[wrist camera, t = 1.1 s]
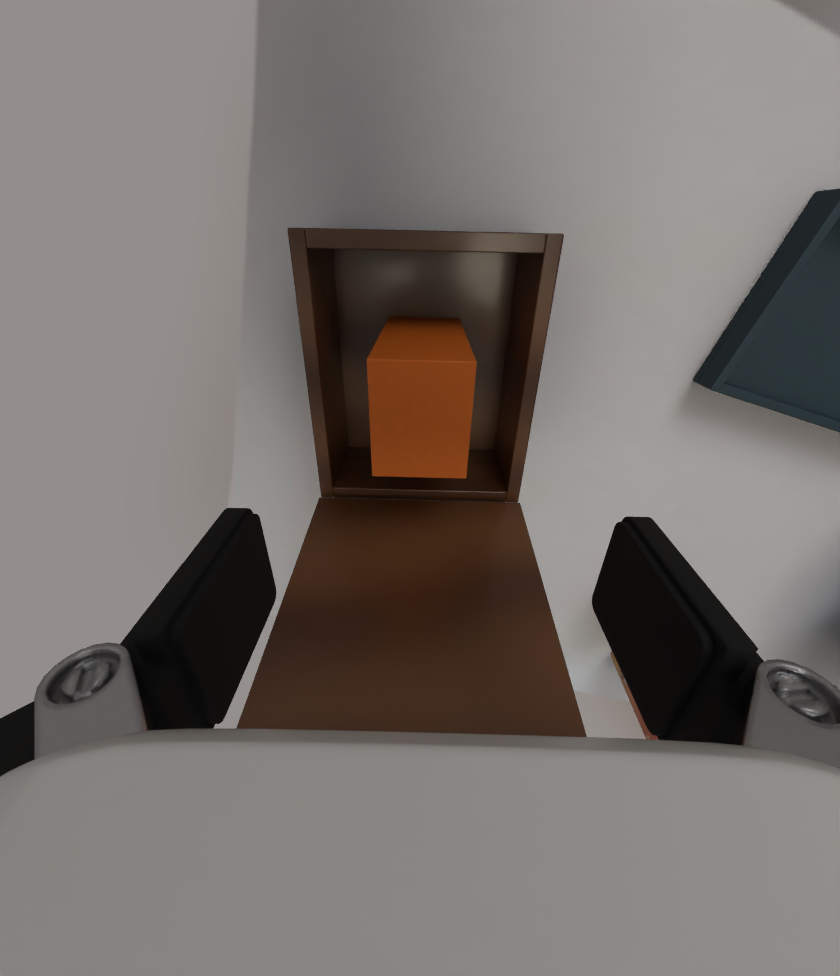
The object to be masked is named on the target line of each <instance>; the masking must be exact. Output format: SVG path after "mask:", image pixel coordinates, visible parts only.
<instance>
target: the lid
mask: <svg viewBox="0 0 840 976" xmlns="http://www.w3.org/2000/svg"><path fill="white" fill-rule="evenodd" d="M236 729H296V730H342V731H387V732H426V733H463V734H499V735H533V736H564V737H587V736H586V733H585V729H584V726H583V722H582V719H581V715H580V712H579V708H578V705H577V701H576V698H575V694H574V691H573V687H572V684H571V680H570V677H569V673H568V670H567V666H566V663H565V659H564V656H563V652H562V649H561V645H560V642H559V638H558V635H557V631H556V628H555V624H554V621H553V617H552V614H551V610H550V607H549V603H548V600H547V596H546V593H545V589H544V586H543V582H542V579H541V575H540V572H539V568H538V565H537V561H536V558H535V554H534V551H533V547H532V544H531V540H530V537H529V533H528V530H527V526H526V523H525V519H524V516H523V512H522V509H521V505H520V503H505V502H467V501H429V500H391V499H353V498H319V500H318V503H317V506H316V509H315V511H314V514H313V517H312V520H311V523H310V525H309V528H308V531H307V534H306V536H305V539H304V542H303V545H302V548H301V550H300V553H299V556H298V559H297V561H296V564H295V567H294V570H293V573H292V575H291V578H290V581H289V584H288V586H287V589H286V592H285V595H284V598H283V600H282V603H281V606H280V609H279V611H278V614H277V617H276V620H275V623H274V626H273V628H272V631H271V634H270V636H269V639H268V643H267V645H266V648H265V650H264V653H263V656H262V659H261V662H260V664H259V667H258V670H257V673H256V675H255V679H254V681H253V684H252V687H251V689H250V692H249V696H248V698H247V701H246V703H245V706H244V709H243V712H242V715H241V717H240V720H239V723H238V725H237V728H236Z"/></svg>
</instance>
